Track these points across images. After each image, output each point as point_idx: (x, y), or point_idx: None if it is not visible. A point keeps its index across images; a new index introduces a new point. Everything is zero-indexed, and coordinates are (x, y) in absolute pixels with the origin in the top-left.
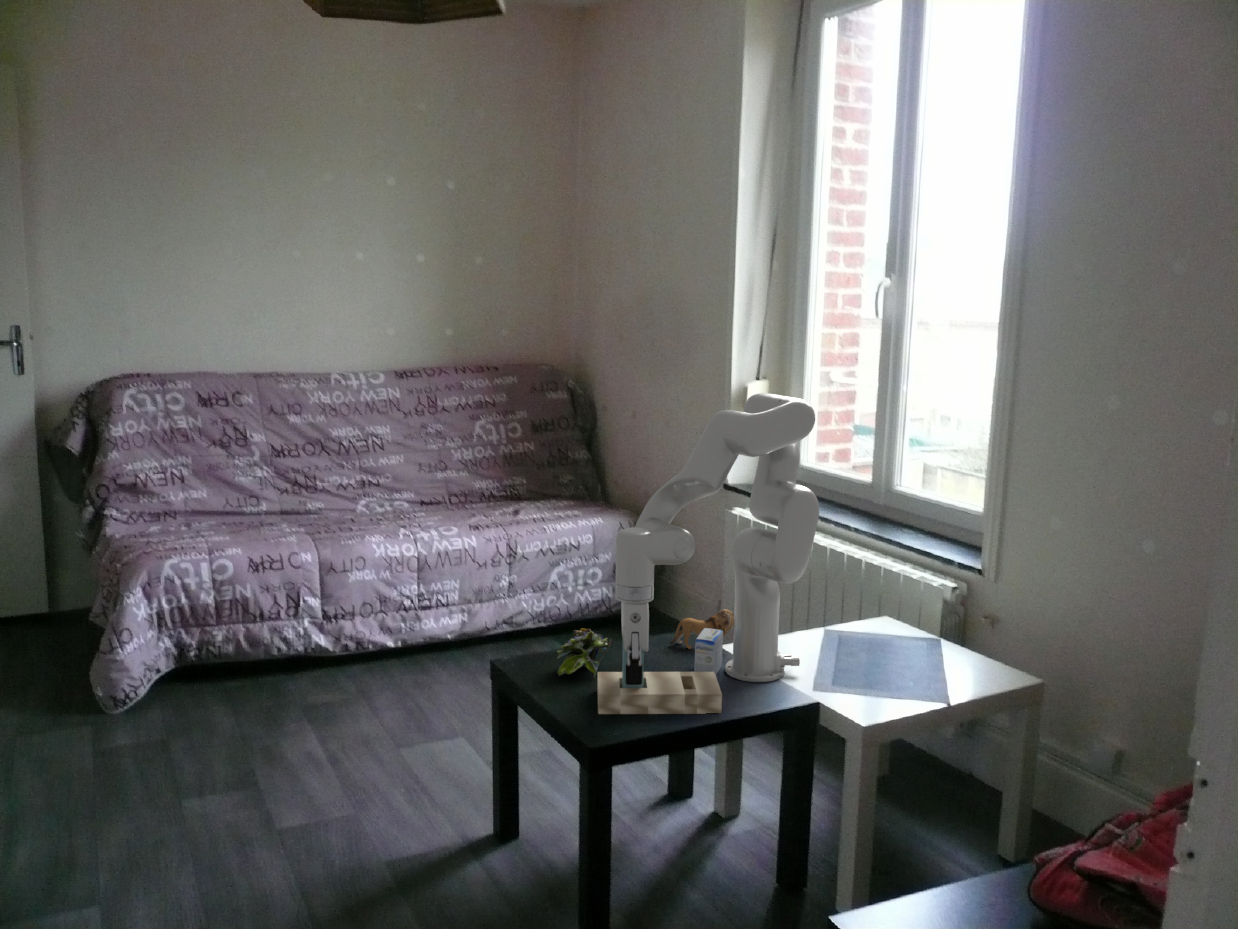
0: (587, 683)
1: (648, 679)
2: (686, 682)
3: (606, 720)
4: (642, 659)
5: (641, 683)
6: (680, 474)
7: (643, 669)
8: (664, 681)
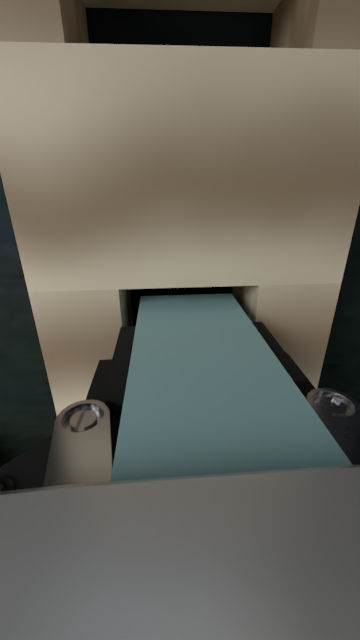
0: (30, 444)
1: (143, 276)
2: (69, 9)
3: (320, 386)
4: (303, 406)
5: (261, 323)
6: None
7: (271, 350)
8: (169, 182)
